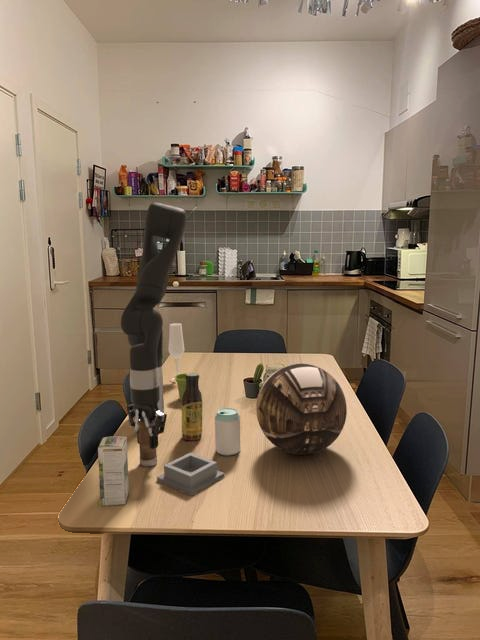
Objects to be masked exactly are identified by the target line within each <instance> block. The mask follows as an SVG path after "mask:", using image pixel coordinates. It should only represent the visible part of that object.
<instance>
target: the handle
mask: <svg viewBox="0 0 480 640" xmlns="http://www.w3.org/2000/svg"><path fill="white" fill-rule="evenodd" d="M151 423H154V421H152V422H150V424H151ZM138 428H139V444H138V446H139V464H140V466H141V467H143V468H153V467H155V466H157V464H158V455H157V448H154V449H151V448H150V440H149V436H150V434H149V430H148V428H147V427H146V424H145V422H144V421H139V422H138ZM152 429H153V430H154V426H153V427H152Z"/></svg>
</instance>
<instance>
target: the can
mask: <svg viewBox="0 0 480 640" xmlns="http://www.w3.org/2000/svg"><path fill="white" fill-rule="evenodd" d="M238 412H239V411H238V409H236V408H233V407H223V408H219V409H218V410H217V411H216V414H215V416H214V431H215V433H214V436H215V443H214V444H215V452H217V454H220V455H221V456H225V457H226V456H233V455H234V456H235V455H237V454H238V453H239V452H240V451H241V415H240V414H239V413H238Z"/></svg>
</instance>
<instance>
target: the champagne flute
mask: <svg viewBox="0 0 480 640" xmlns="http://www.w3.org/2000/svg"><path fill="white" fill-rule="evenodd" d="M182 325H183V324H182V323H170V324H169V333H168V334H169V335H168V353H169V354H170V356H172V358H174V359H175V376H176V375H178V374H180V369H179V367H180V366H179V358H180V357H182V355H184V352H185V342H184V335H183V327H182ZM171 379H172V380H175V381H176V379H175V378H174V377H172V378H171Z"/></svg>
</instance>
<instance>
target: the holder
mask: <svg viewBox="0 0 480 640" xmlns="http://www.w3.org/2000/svg"><path fill="white" fill-rule="evenodd" d="M224 477H225V472H222V471H220V470H218V463H217V461H214V460H212V459H209V458H206V457H203V456H200V455H199V454H198V455H197V454H196V453H192V452H189V453H186V454H185V455H183V456H181V457H178V458H176V459H173V461H172V460H171V461H170V462H169V463H166V464H164V465H163V474H160V475H158V476H156V481H157V482H159V483H161V484H164V485H166V486H169V487H170V488H173V489H175V490H176V491H180V492H181V493H184V494H185V495H188V496H190V497H191V496H194V495H196V494H197V493H199V492H200V491H203V490H204V489H206V488H207V487H209V486H210V485H213V484H214V483H216V482H218V481H220V480H221V479H223V478H224Z"/></svg>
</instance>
